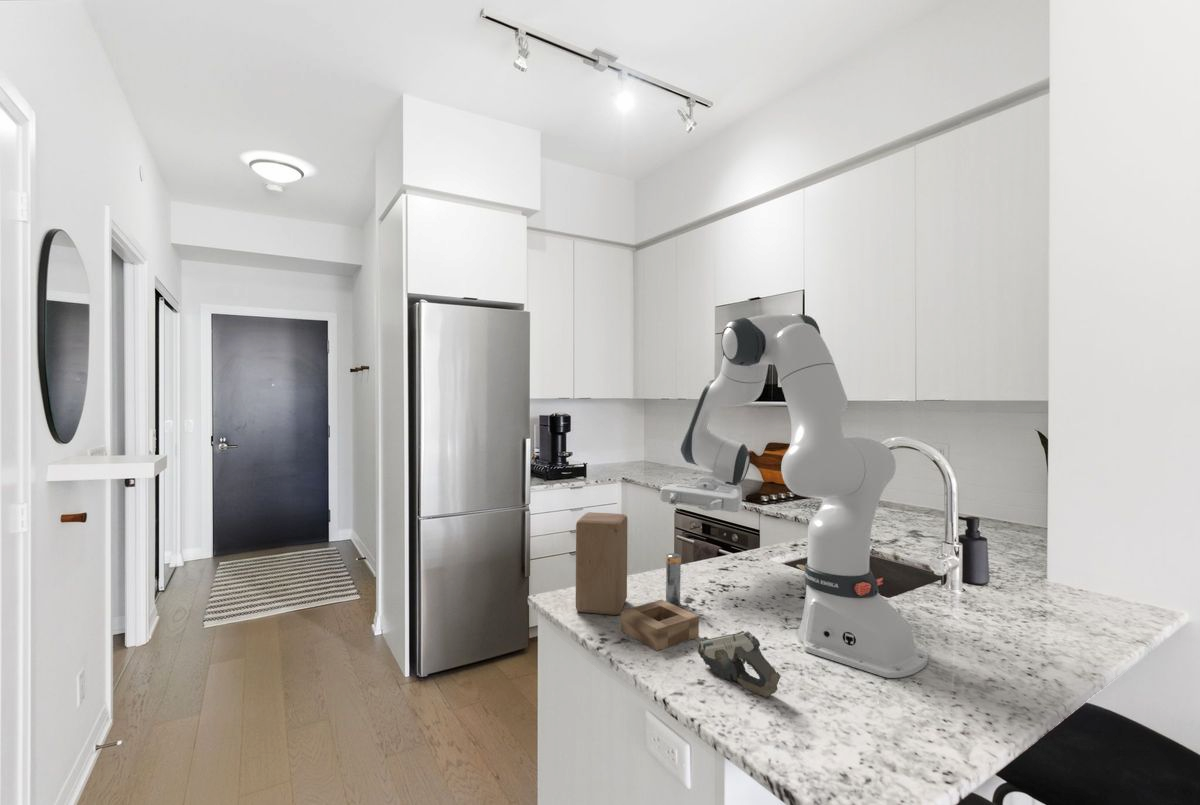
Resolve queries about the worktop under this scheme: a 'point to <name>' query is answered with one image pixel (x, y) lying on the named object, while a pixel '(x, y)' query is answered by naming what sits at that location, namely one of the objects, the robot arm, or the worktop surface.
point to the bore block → (660, 624)
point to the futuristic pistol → (739, 661)
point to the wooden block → (601, 563)
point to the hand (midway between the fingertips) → (690, 504)
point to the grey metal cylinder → (673, 578)
